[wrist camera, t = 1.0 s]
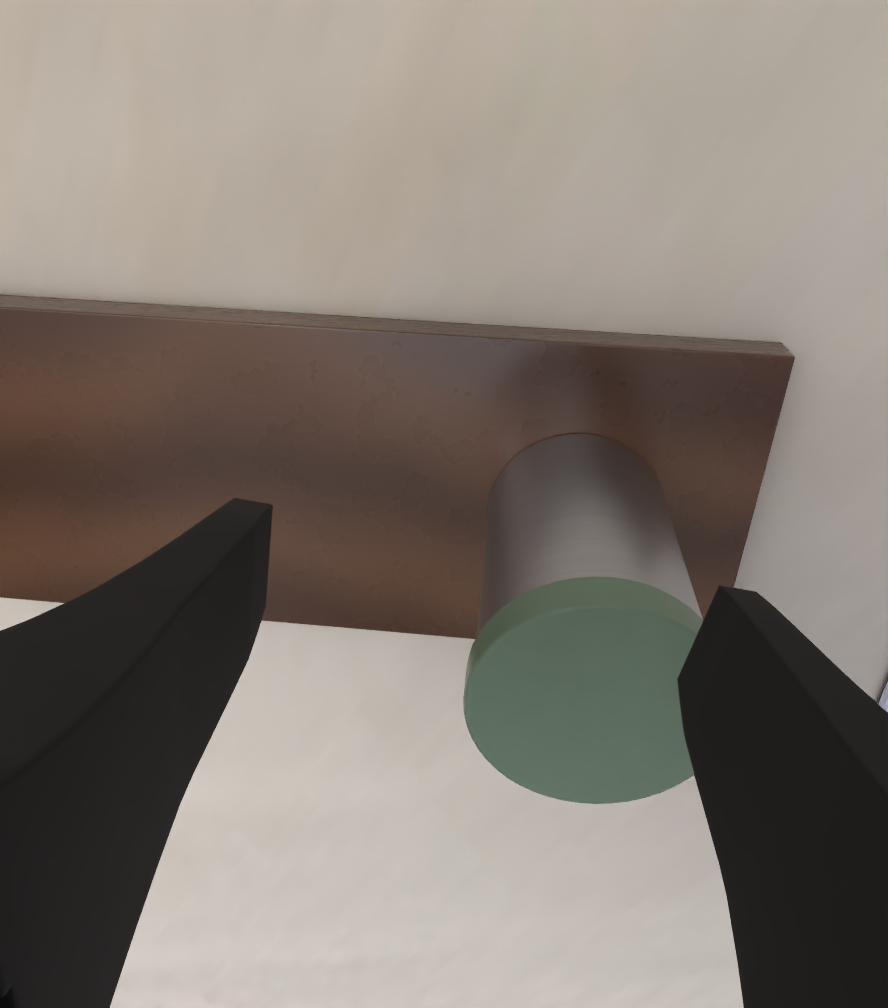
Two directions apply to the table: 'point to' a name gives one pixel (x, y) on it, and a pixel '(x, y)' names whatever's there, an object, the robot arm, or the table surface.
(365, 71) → the table surface
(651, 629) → the tin
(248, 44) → the table surface
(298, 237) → the table surface
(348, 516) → the board
